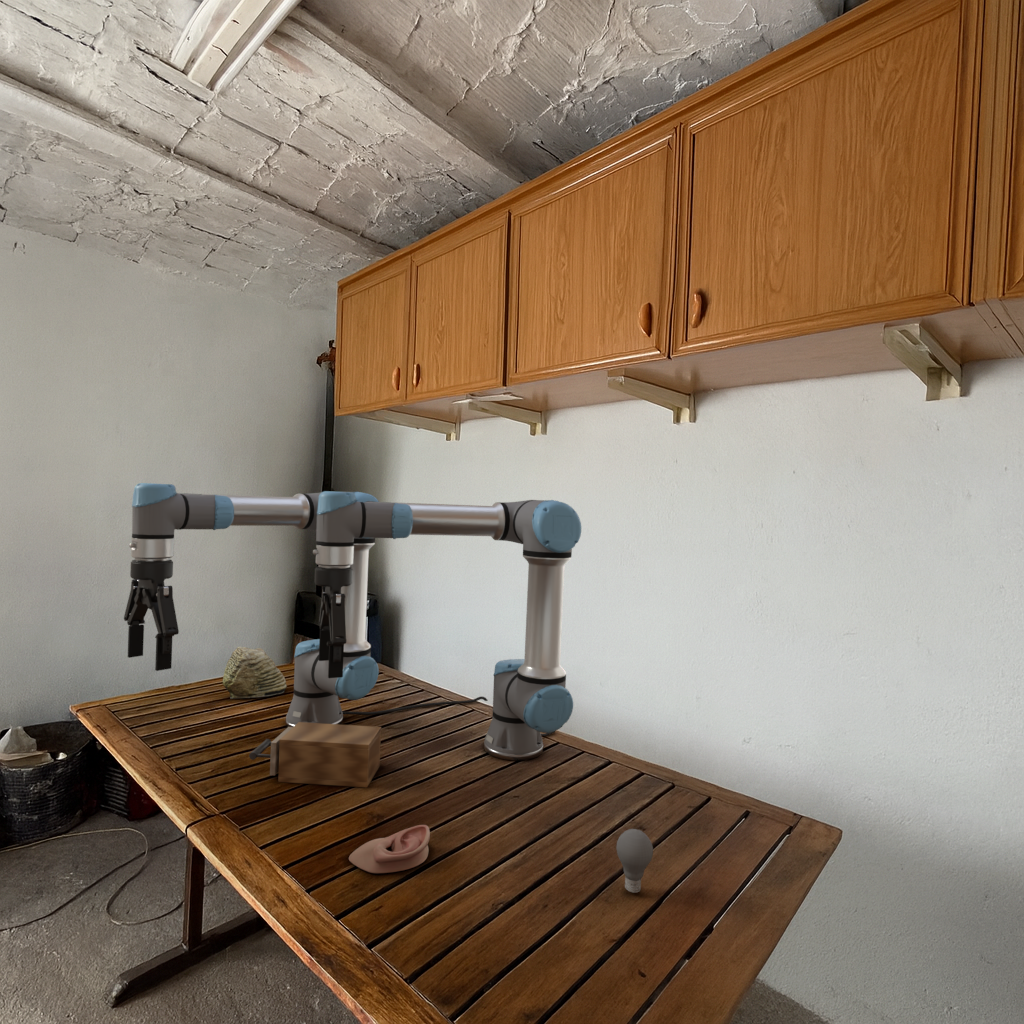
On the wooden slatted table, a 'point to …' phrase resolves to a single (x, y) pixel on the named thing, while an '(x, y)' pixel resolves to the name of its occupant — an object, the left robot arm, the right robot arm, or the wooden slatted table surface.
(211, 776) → the wooden slatted table surface
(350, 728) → the cabinet
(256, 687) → the fossil
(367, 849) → the anatomical model
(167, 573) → the left robot arm
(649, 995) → the wooden slatted table surface
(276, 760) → the drawer
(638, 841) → the light bulb
